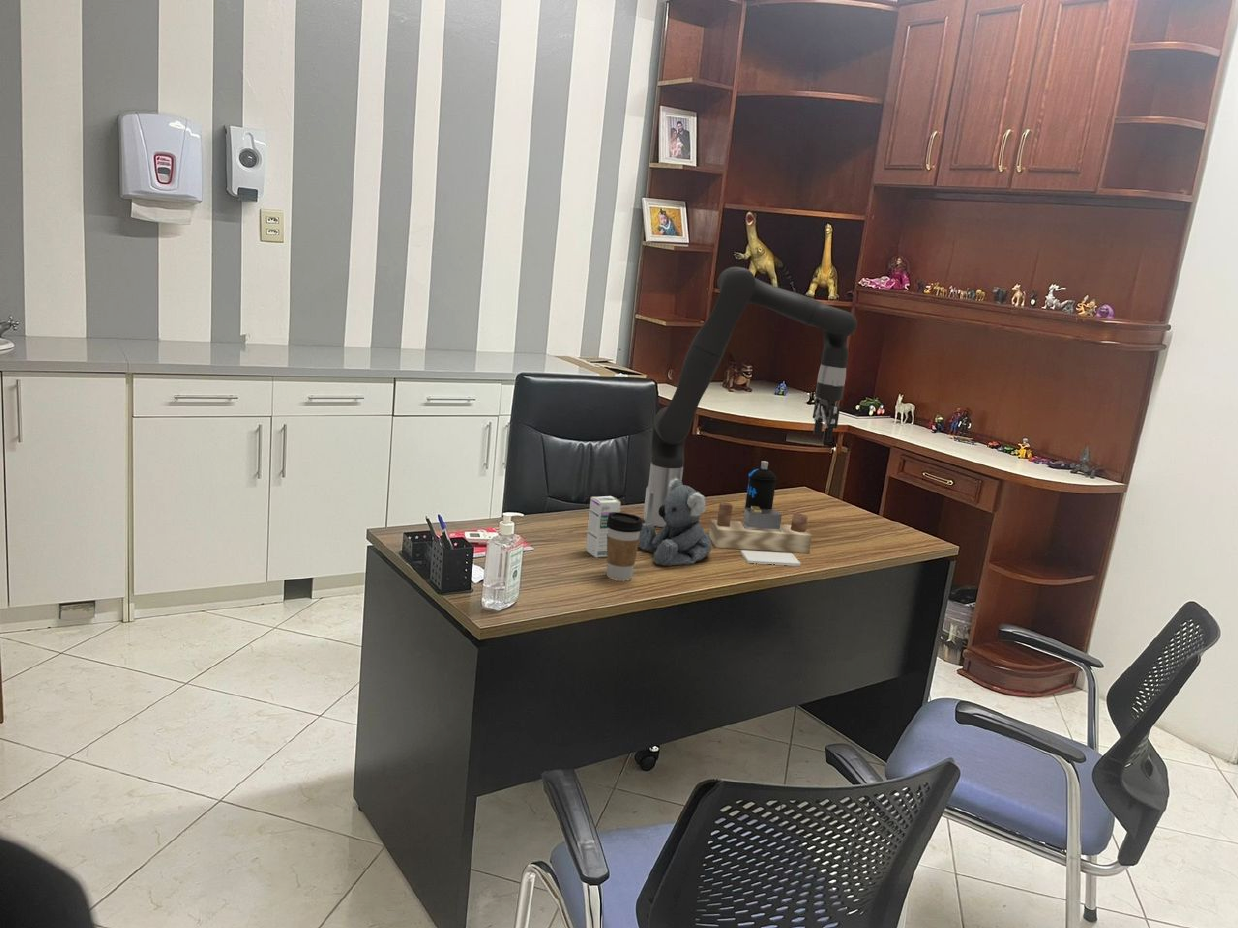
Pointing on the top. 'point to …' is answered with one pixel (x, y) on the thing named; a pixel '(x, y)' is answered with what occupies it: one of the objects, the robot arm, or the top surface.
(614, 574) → the coffee cup
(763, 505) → the aerosol can
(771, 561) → the rubber mat
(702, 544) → the koala plush
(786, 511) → the top surface
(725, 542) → the hand plane
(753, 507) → the lever cap
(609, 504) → the syrup box
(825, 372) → the robot arm
